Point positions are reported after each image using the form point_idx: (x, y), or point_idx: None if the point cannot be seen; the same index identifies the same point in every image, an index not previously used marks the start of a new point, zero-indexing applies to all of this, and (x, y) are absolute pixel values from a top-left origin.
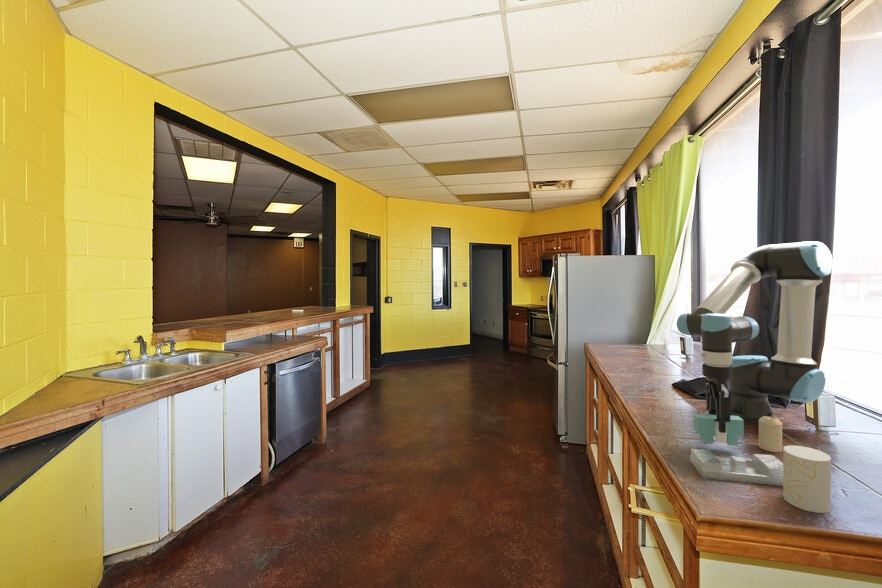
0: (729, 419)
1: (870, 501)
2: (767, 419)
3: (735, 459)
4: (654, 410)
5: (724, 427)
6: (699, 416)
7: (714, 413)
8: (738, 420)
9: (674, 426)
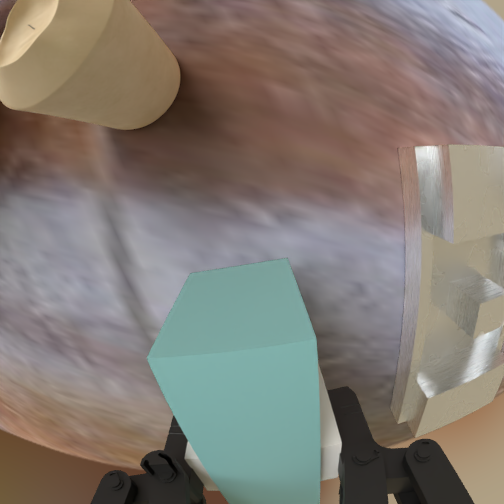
0: (444, 458)
1: (480, 2)
2: (52, 36)
3: (495, 324)
4: (5, 401)
5: (362, 420)
6: None
7: (198, 489)
8: (317, 379)
9: (80, 404)
